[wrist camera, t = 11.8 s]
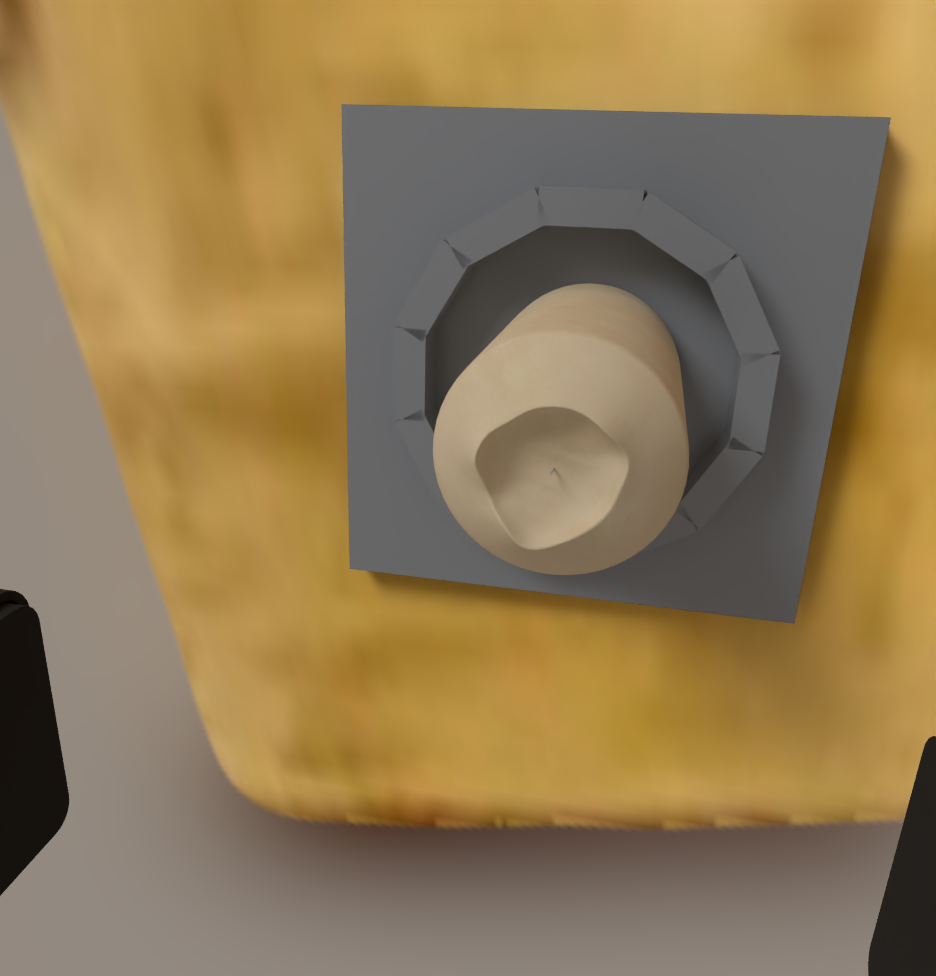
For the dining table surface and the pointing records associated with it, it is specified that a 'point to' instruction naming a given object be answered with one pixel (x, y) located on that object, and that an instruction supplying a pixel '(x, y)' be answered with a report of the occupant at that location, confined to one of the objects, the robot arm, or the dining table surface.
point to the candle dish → (625, 265)
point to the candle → (567, 434)
